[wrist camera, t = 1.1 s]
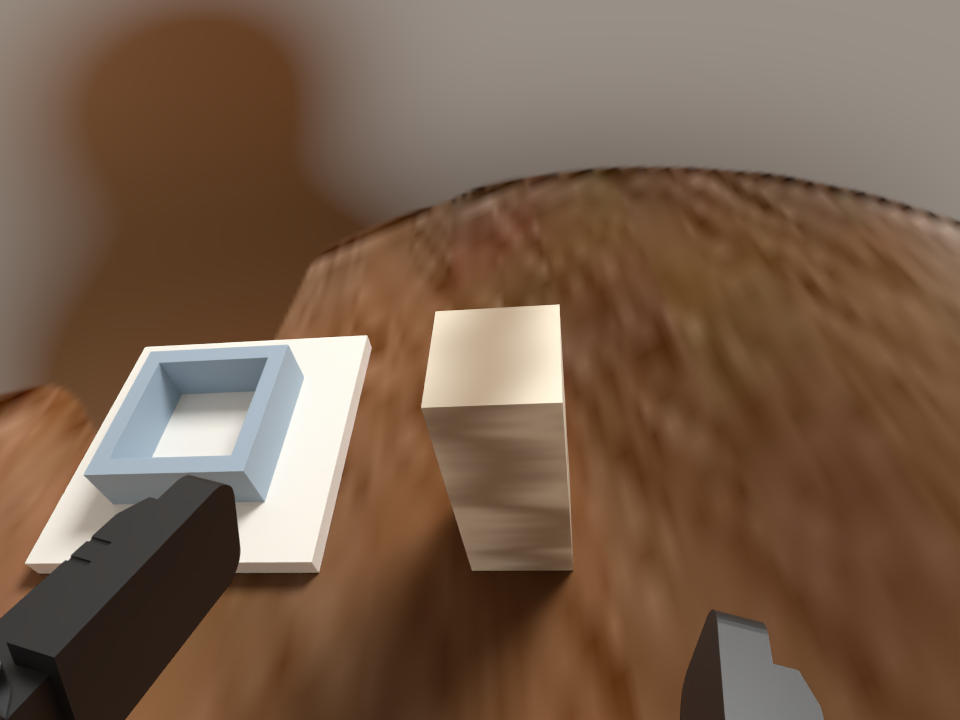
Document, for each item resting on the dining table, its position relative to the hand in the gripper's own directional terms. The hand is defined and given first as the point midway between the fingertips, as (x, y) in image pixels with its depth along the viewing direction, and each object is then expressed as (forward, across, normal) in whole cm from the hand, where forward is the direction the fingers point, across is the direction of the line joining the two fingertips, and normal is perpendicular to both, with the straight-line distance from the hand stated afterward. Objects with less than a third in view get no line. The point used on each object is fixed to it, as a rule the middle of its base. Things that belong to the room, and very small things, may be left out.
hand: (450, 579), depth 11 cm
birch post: (+19, 0, +15) cm, 24 cm away
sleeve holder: (+21, +20, +17) cm, 33 cm away
